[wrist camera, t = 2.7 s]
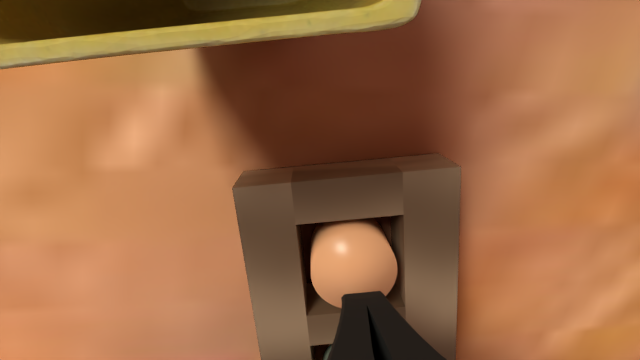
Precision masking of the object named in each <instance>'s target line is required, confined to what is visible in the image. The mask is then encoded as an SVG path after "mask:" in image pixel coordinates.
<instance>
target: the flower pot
mask: <svg viewBox="0 0 640 360" xmlns="http://www.w3.org/2000/svg"><path fill="white" fill-rule="evenodd" d="M420 5H421V0H0V69H7V68H15V67H24V66H33V65H42V64H50V63H59V62H68V61H77V60H86V59H95V58H104V57H113V56H121V55H131V54H141V53H151V52H161V51H170V50H180V49H190V48H200V47H210V46H220V45H230V44H241V43H251V42H261V41H271V40H281V39H291V38H301V37H311V36H321V35H330V34H343V33H357V32H370V31H378V30H385V29H391V28H396V27H399V26H402V25H404V24H406V23H408V22H410V21H412V20H413V19H414V18H415V17H416V15H417V13H418V11H419V8H420Z"/></svg>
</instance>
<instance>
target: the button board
mask: <svg viewBox="0 0 640 360" xmlns="http://www.w3.org/2000/svg"><path fill="white" fill-rule="evenodd" d="M460 188H461V166H459V165H457V164H456V163H454V162H452V161H451V160H449V159H447V158H446V157H444V156H442V155H441V154H439V153H435V154H425V155H414V156H403V157H392V158H381V159H371V160H360V161H349V162H338V163H328V164H317V165H306V166H295V167H284V168H274V169H263V170H252V171H244V172H243V173H242V174H241V176H240V177H239V179H238V180H237V182H236V183H235V185H234V186H233V188H232V190H233V196H234V202H235V208H236V214H237V220H238V225H239V231H240V237H241V243H242V249H243V255H244V261H245V267H246V273H247V279H248V285H249V291H250V297H251V303H252V309H253V314H254V320H255V326H256V332H257V338H258V344H259V350H260V356H261V360H315V351H314V345H323V344H333V341H334V338H335V335H336V331H337V327H338V324H339V319H340V314H341V308H339V307H336V306H333V305H331V304H329V303H328V302H326V301H325V300H324V299H322V298H321V297H320V295H319V294H318V293H317V292H316V290H315V288H314V286H313V283H311V284H307V281H306V272H305V263H304V255H303V246H302V237H301V228H300V224H309V223H320V222H331V221H341V220H352V219H363V218H374V217H384V216H391V241H392V251H393V253H394V255H395V258H396V261H397V277H396V281H395V283H394V285H393V287H392V289H391V290H390V292H389V293H388V294H387V295H386V298H387V299H388V300H389V302H390V303H391V304H392V305H393V306H394V308H395V309H396V310H397V311H398V312H399V314H400V315H401V316H402V317H403V318H404V319H405V320H406V321H407V322H408V323H409V324H410V326H411V327H412V328H413V329H414V330H415V331H416V332H417V333H418V334H419V335H420V336H421V337H422V338H423V339H424V340H425V341H426V342H428V343H429V344H430V345H431V346H432V347H433V348H434V349H435V350H436V351H437V352H438V353H440V354H441V355H442V356H443V357H444V358H446V359H447V360H456V327H457V292H458V258H459V223H460Z"/></svg>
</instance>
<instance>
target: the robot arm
mask: <svg viewBox="0 0 640 360" xmlns="http://www.w3.org/2000/svg"><path fill="white" fill-rule="evenodd" d="M341 300H342V307H341V314H340V319H339V324H338V327H337V331H336V335H335V338H334V341H333V344H332V347H331V350H330V353H329V356H328V358H327V360H447V359H446V358H444V357H443V356H442V355H441V354H440V353H438V352H437V351H436V350H435V349H434V348H433V347H432V346H431V345H430V344H429V343H428V342H426V341H425V340H424V339H423V338H422V337H421V336H420V335H419V334H418V333H417V332H416V331H415V330H414V329H413V328H412V327H411V326H410V324H409V323H408V322H407V321H406V320H405V319H404V318H403V317H402V316H401V315H400V314H399V312H398V311H397V310H396V309H395V308H394V306H393V305H392V304H391V303H390V302H389V300H388V299H387V298H386V296H385V295H384V294H383V293H382V292H381V291H373V292H362V293H352V294H344V295H343V296H342V297H341Z"/></svg>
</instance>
